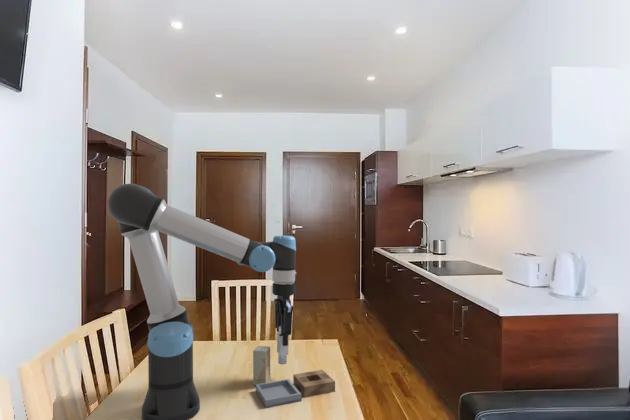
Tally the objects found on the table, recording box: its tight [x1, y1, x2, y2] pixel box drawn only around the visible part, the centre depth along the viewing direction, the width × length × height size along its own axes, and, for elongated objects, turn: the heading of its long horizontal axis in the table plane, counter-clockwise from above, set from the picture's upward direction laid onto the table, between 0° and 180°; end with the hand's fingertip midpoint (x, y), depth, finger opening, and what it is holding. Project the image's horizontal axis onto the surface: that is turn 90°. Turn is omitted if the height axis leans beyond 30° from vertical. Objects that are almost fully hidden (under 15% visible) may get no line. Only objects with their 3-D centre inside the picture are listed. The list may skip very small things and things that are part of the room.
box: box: [252, 345, 271, 386], centre depth 132 cm, size 5×4×11 cm
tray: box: [255, 378, 302, 408], centre depth 122 cm, size 11×12×2 cm
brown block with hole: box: [292, 369, 336, 398], centre depth 128 cm, size 10×10×3 cm
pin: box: [277, 326, 288, 365], centre depth 136 cm, size 3×3×12 cm
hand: (282, 353), depth 136 cm, fingers closed on pin, 3 cm apart
